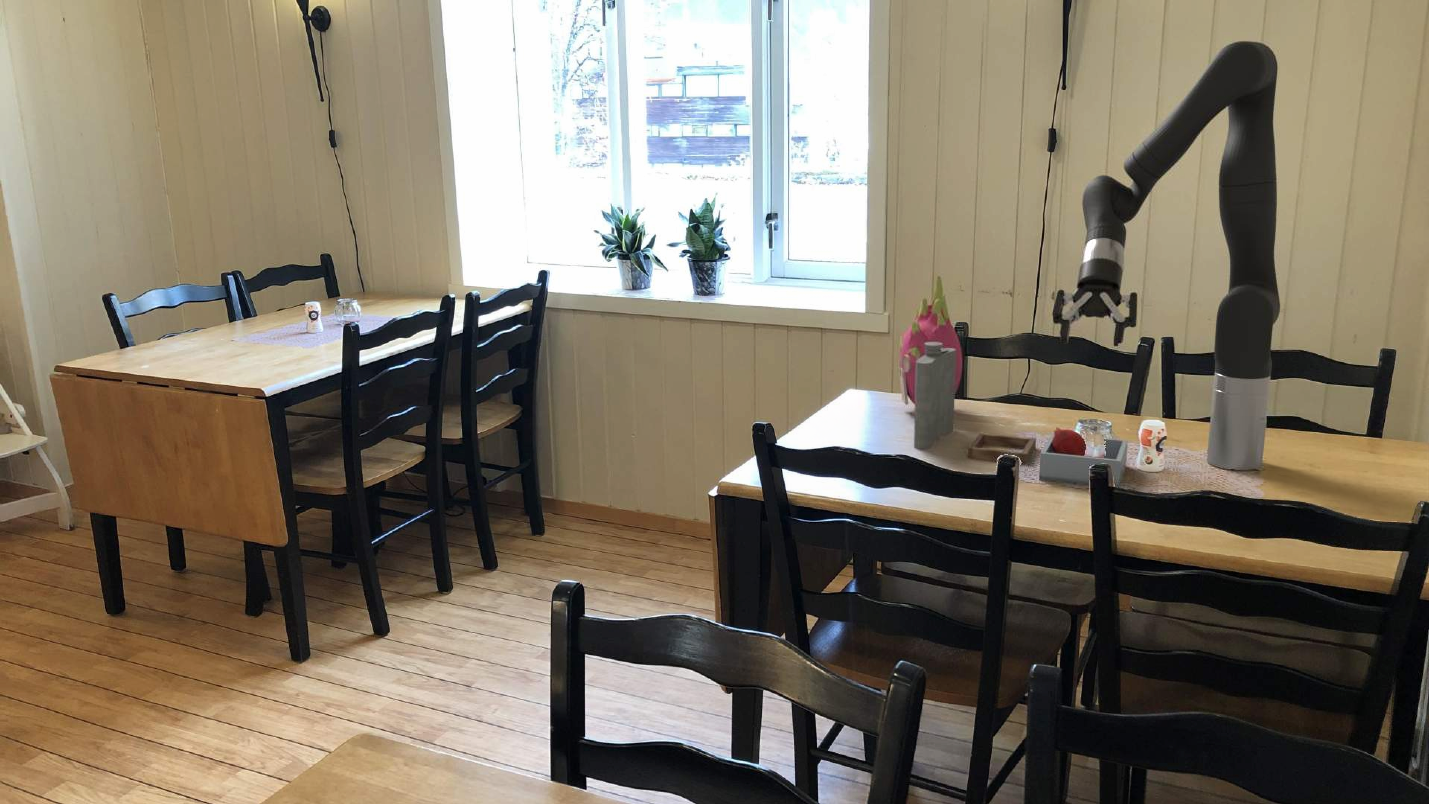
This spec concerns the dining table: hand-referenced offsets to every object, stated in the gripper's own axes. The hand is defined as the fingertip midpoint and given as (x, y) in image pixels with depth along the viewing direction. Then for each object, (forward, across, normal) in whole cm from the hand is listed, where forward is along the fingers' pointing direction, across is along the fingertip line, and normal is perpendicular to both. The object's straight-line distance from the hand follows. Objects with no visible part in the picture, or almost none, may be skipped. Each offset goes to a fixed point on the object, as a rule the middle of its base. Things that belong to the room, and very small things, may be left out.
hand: (1090, 342), depth 195 cm
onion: (+15, 0, +17) cm, 23 cm away
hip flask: (+8, -31, +27) cm, 42 cm away
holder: (+12, -16, +23) cm, 30 cm away
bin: (+17, 0, +18) cm, 25 cm away
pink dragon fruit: (-7, -37, +41) cm, 56 cm away
